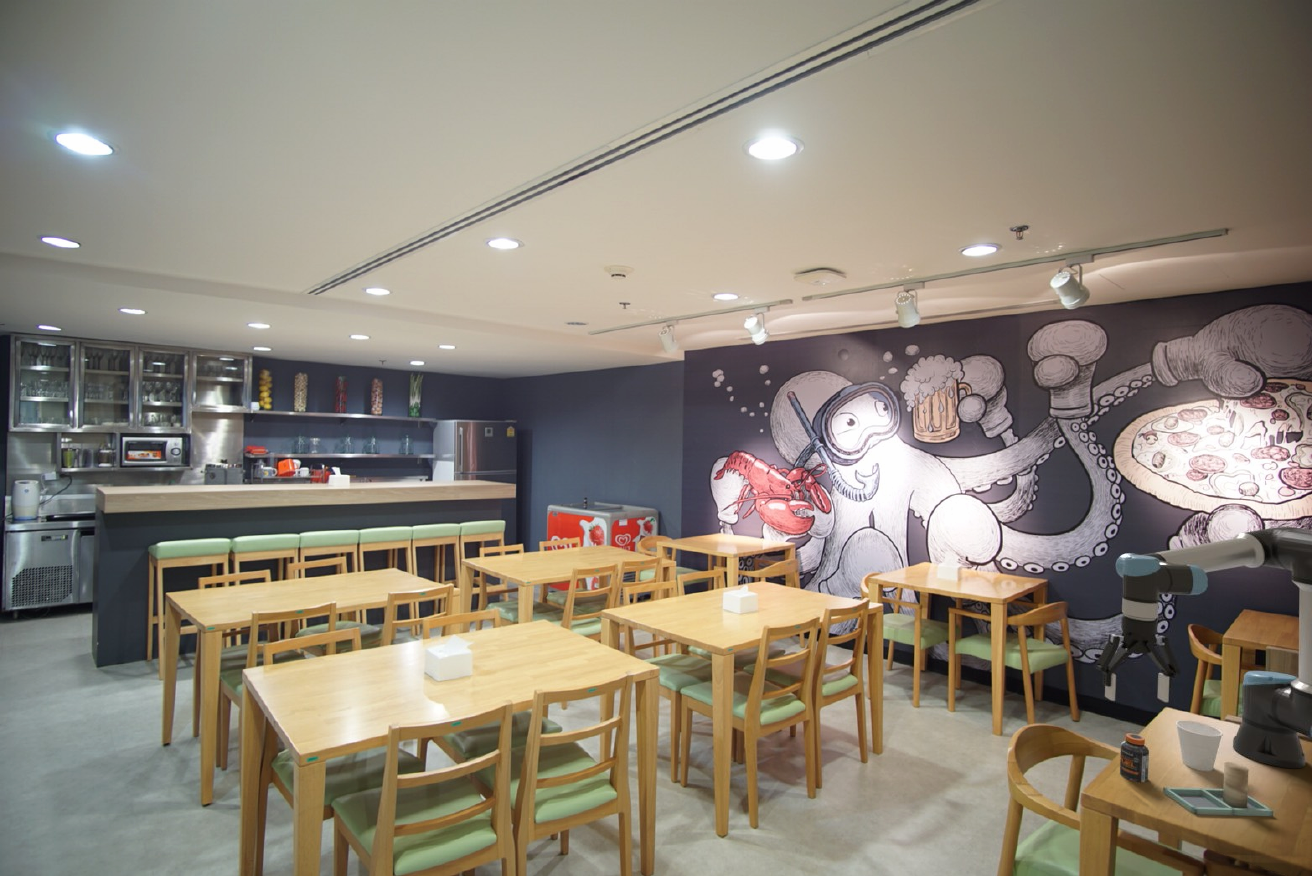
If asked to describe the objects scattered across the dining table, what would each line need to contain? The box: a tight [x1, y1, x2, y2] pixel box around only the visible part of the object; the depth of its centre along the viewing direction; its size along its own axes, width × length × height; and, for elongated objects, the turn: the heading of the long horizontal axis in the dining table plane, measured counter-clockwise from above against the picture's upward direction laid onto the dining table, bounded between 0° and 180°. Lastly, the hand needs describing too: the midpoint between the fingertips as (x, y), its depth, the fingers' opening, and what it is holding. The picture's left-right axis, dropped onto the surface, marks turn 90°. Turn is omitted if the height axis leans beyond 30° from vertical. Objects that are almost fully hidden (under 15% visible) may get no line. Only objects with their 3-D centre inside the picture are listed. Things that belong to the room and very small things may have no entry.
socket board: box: [1162, 786, 1274, 817], centre depth 164 cm, size 18×10×2 cm, turn 90°
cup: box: [1175, 719, 1224, 772], centre depth 183 cm, size 10×10×11 cm
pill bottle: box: [1119, 733, 1150, 783], centre depth 176 cm, size 6×6×11 cm
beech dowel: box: [1222, 761, 1250, 808], centre depth 164 cm, size 4×4×9 cm
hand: (1136, 699), depth 176 cm, fingers open, 13 cm apart
